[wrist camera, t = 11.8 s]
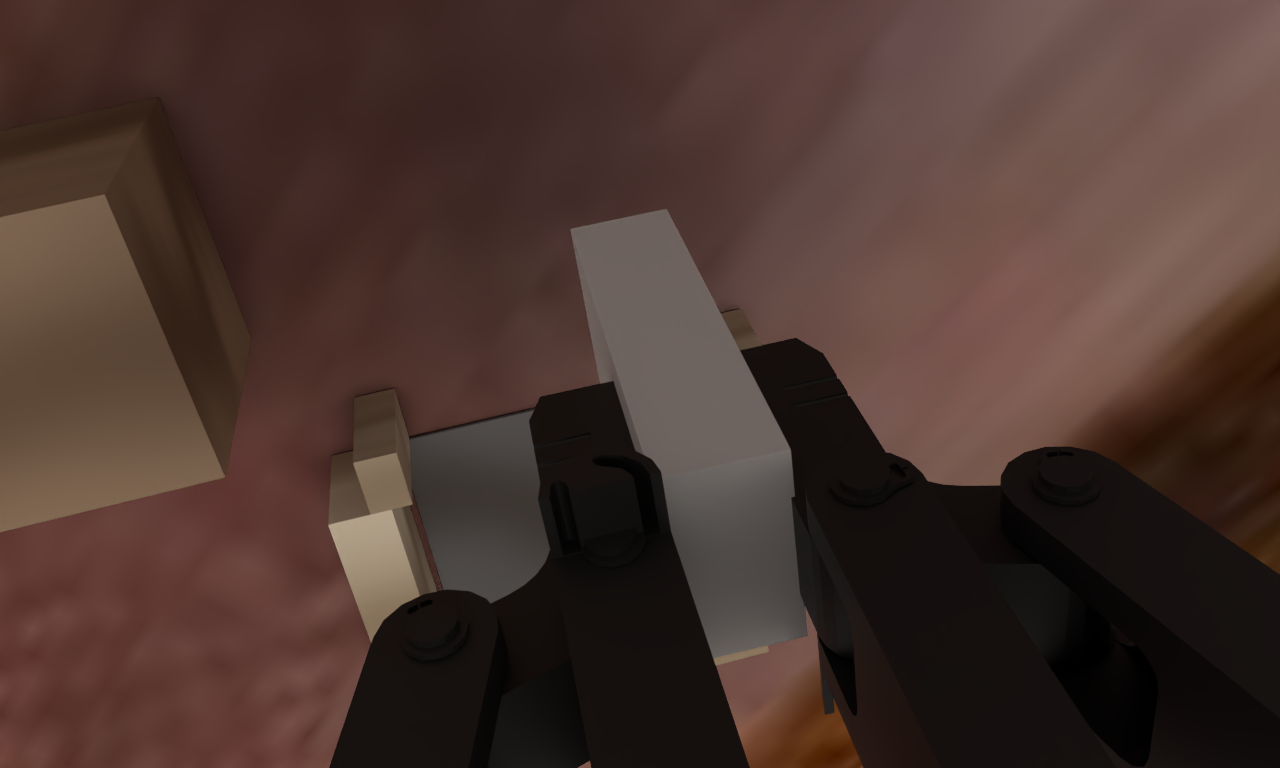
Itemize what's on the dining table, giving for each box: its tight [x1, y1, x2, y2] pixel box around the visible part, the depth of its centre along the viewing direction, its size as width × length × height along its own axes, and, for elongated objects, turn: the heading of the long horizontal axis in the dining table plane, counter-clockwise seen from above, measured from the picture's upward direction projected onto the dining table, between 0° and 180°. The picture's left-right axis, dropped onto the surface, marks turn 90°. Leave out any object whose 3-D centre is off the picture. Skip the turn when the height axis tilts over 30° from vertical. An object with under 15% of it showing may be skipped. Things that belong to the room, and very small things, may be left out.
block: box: [0, 97, 251, 532], centre depth 24 cm, size 6×6×6 cm
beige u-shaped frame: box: [328, 309, 768, 665], centre depth 27 cm, size 22×11×3 cm, turn 9°
